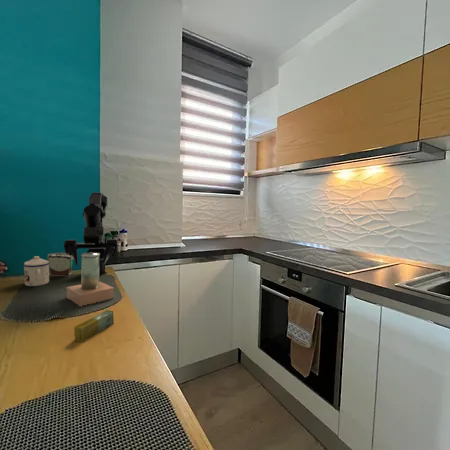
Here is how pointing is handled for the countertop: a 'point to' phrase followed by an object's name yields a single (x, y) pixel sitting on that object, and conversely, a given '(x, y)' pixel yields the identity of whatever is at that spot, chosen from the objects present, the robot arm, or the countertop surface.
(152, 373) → the countertop surface
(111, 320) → the medication box
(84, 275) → the sage tin
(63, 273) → the food container
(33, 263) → the teacup with lid
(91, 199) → the robot arm
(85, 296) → the terracotta base
